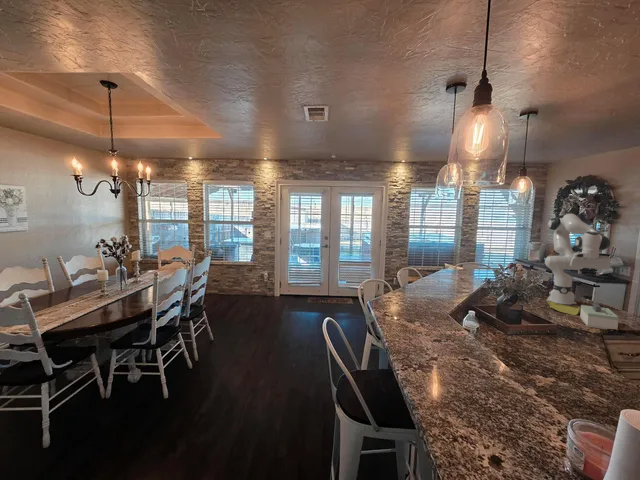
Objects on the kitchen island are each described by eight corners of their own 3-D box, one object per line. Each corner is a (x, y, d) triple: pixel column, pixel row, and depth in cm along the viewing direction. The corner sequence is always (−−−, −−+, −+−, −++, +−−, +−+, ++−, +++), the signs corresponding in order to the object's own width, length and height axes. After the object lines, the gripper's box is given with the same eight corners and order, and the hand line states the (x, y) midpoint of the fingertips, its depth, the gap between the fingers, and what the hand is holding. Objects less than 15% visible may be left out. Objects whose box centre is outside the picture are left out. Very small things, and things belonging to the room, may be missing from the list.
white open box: (580, 317, 203) (581, 305, 202) (607, 321, 196) (608, 308, 195) (587, 326, 186) (588, 313, 185) (617, 331, 179) (618, 317, 178)
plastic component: (580, 309, 214) (579, 306, 207) (578, 318, 212) (577, 315, 206) (547, 301, 228) (545, 298, 221) (545, 310, 227) (543, 307, 220)
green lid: (580, 307, 202) (581, 300, 202) (608, 311, 195) (608, 303, 194) (588, 316, 186) (588, 307, 185) (618, 320, 178) (618, 311, 178)
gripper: (609, 255, 196) (607, 275, 197) (570, 253, 207) (569, 272, 208) (612, 256, 191) (610, 276, 192) (572, 254, 202) (570, 273, 203)
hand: (588, 274), depth 200 cm, fingers open, 8 cm apart
